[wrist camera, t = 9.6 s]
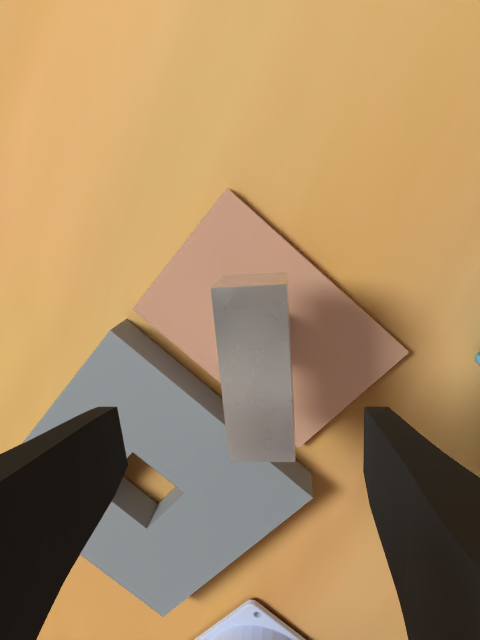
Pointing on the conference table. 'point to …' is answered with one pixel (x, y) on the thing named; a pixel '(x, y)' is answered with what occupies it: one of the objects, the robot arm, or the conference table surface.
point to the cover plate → (173, 473)
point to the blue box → (477, 358)
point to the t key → (255, 365)
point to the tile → (304, 311)
